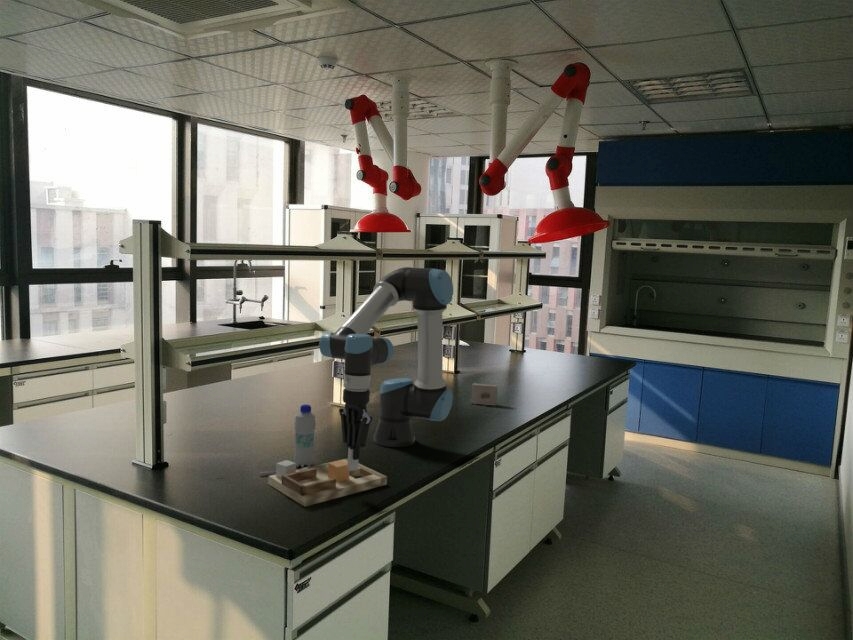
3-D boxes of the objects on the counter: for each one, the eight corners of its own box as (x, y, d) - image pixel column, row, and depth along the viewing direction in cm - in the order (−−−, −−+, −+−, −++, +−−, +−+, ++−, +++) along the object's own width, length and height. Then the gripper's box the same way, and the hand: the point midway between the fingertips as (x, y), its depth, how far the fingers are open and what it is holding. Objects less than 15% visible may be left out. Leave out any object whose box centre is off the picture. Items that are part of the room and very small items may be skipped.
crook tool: (292, 472, 201) (292, 469, 201) (295, 477, 197) (295, 473, 197) (260, 475, 197) (260, 471, 197) (262, 480, 194) (262, 476, 193)
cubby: (314, 476, 192) (314, 467, 191) (335, 487, 184) (336, 478, 183) (281, 483, 184) (281, 475, 184) (302, 495, 176) (302, 487, 176)
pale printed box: (470, 404, 301) (472, 384, 300) (471, 402, 305) (472, 382, 303) (496, 406, 299) (498, 386, 298) (497, 404, 303) (498, 384, 302)
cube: (340, 474, 194) (340, 460, 194) (349, 479, 191) (349, 464, 190) (327, 477, 191) (328, 462, 191) (336, 482, 188) (337, 467, 187)
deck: (347, 465, 209) (348, 457, 209) (386, 484, 195) (387, 475, 194) (268, 484, 190) (268, 475, 190) (304, 506, 176) (305, 497, 175)
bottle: (315, 462, 211) (317, 402, 209) (312, 469, 204) (314, 407, 202) (294, 461, 211) (296, 401, 208) (291, 468, 204) (293, 406, 202)
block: (285, 472, 193) (286, 459, 193) (295, 476, 191) (296, 462, 190) (276, 476, 190) (276, 463, 189) (285, 479, 188) (286, 466, 187)
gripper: (332, 385, 186) (328, 465, 188) (359, 394, 176) (355, 478, 178) (353, 383, 191) (350, 461, 193) (381, 391, 181) (377, 473, 183)
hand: (352, 469), depth 186 cm, fingers closed
